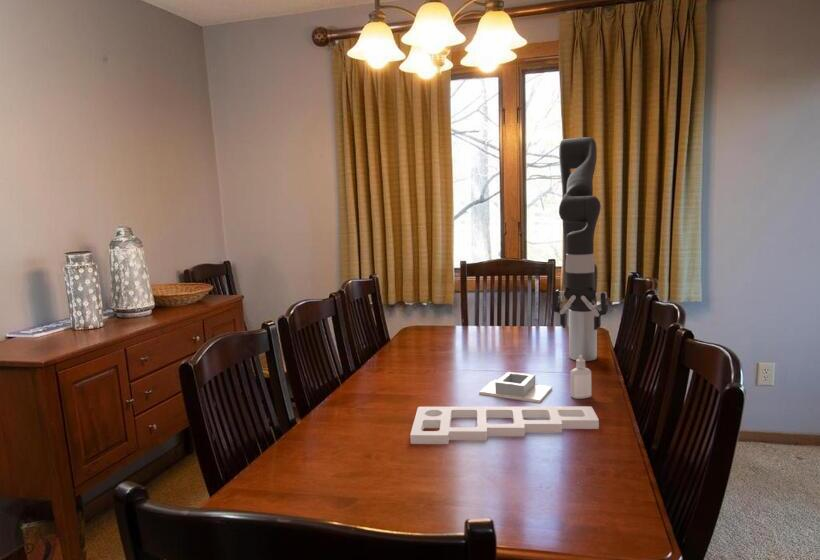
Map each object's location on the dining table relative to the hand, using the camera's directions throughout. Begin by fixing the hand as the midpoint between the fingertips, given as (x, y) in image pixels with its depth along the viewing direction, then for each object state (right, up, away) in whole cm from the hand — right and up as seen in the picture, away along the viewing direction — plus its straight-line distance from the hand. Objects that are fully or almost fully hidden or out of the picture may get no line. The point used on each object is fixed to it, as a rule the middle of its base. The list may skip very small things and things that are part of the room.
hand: (580, 328), depth 151 cm
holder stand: (-16, -19, +9) cm, 27 cm away
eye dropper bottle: (+1, -20, +3) cm, 20 cm away
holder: (-23, -24, -16) cm, 37 cm away
